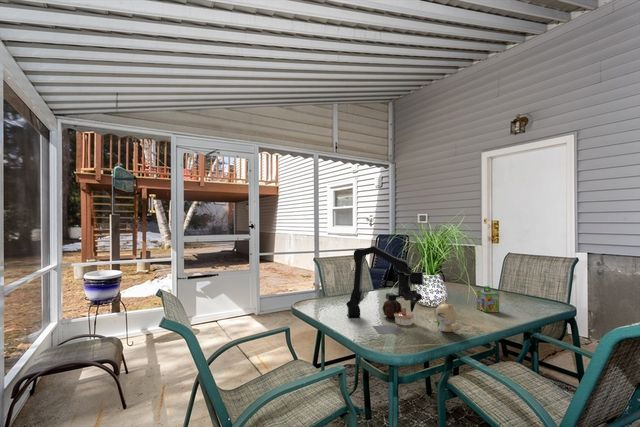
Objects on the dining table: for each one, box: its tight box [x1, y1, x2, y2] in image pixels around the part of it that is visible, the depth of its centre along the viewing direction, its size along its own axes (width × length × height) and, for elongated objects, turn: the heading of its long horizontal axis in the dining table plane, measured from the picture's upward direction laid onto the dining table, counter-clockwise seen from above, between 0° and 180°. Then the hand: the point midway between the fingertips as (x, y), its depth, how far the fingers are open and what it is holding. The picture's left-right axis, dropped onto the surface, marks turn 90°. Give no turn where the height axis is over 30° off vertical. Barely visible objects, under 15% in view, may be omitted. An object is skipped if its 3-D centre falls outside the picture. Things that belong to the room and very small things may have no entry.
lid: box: [394, 306, 415, 319], centre depth 170 cm, size 10×10×4 cm
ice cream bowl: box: [382, 300, 403, 319], centre depth 180 cm, size 11×11×15 cm
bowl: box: [394, 317, 414, 326], centre depth 170 cm, size 9×9×4 cm
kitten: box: [434, 298, 462, 333], centre depth 158 cm, size 15×10×15 cm, turn 4°
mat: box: [372, 324, 404, 335], centre depth 159 cm, size 12×12×1 cm
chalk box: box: [476, 285, 500, 313], centre depth 193 cm, size 9×9×15 cm
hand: (403, 312), depth 170 cm, fingers open, 9 cm apart
